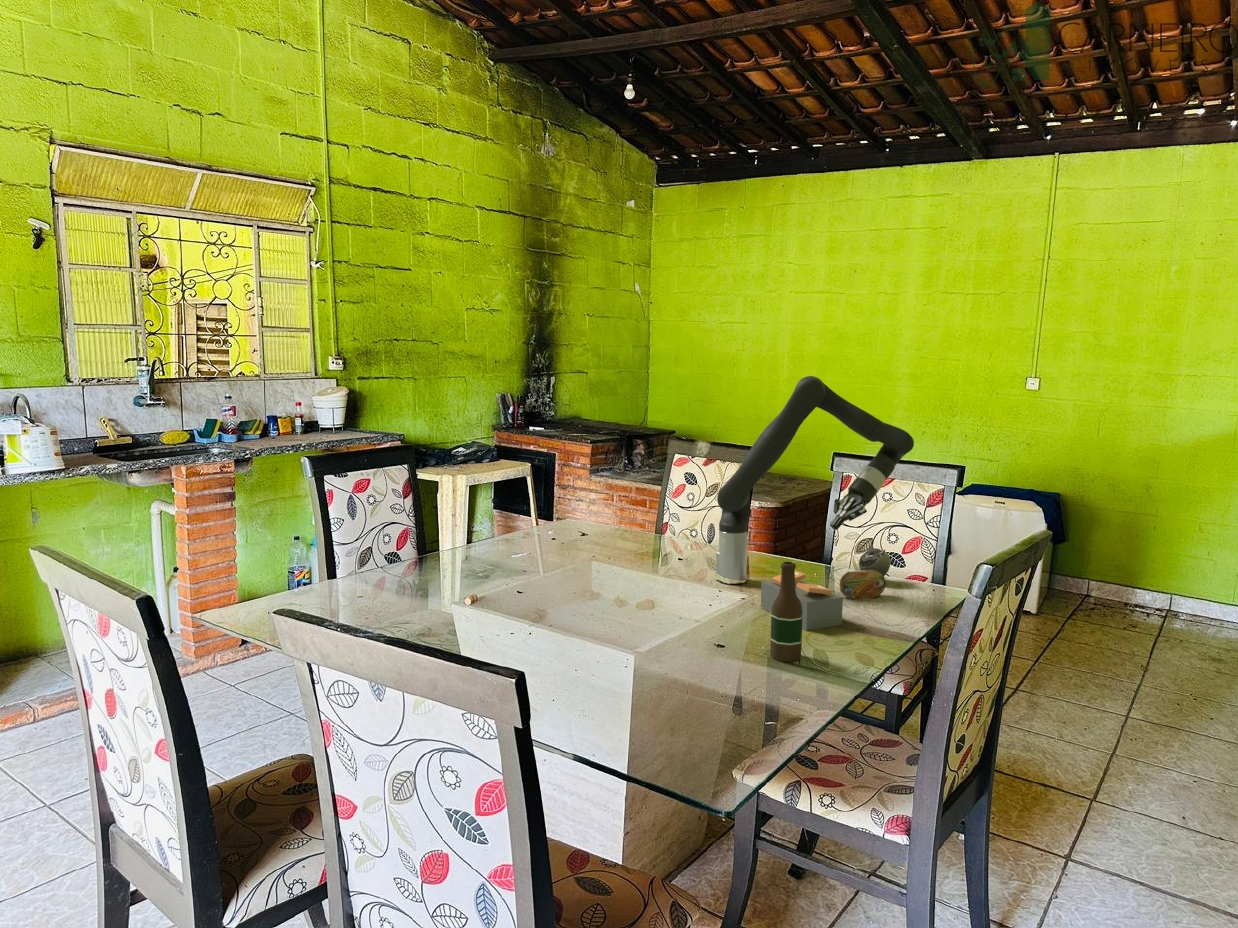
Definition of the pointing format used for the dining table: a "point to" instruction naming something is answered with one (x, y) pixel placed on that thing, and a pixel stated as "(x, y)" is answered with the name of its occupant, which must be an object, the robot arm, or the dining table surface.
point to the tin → (862, 584)
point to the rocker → (797, 577)
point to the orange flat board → (814, 588)
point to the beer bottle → (786, 619)
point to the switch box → (808, 605)
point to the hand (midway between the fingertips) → (833, 527)
